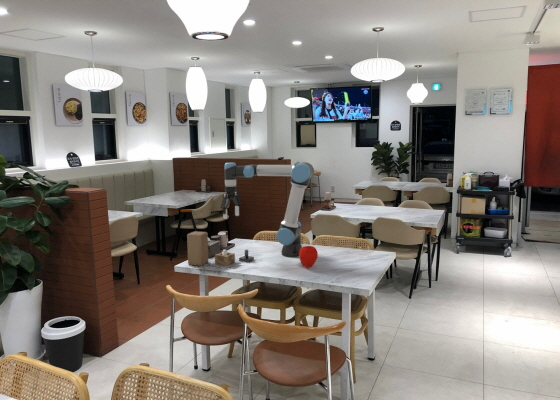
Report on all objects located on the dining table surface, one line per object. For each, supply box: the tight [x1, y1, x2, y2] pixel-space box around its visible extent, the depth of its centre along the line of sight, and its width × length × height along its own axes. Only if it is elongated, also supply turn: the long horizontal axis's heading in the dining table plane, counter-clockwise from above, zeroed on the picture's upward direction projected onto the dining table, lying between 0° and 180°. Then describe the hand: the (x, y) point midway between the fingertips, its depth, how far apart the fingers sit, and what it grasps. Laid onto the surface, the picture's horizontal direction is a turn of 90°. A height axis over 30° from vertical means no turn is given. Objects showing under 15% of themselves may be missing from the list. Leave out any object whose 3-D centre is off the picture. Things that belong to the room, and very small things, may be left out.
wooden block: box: [186, 230, 209, 267], centre depth 285 cm, size 10×10×20 cm
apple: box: [299, 245, 319, 268], centre depth 276 cm, size 12×12×13 cm
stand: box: [238, 249, 255, 263], centre depth 292 cm, size 7×7×7 cm
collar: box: [214, 251, 236, 266], centre depth 283 cm, size 9×9×6 cm
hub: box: [209, 249, 241, 269], centre depth 283 cm, size 14×14×10 cm
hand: (231, 217), depth 301 cm, fingers open, 13 cm apart
